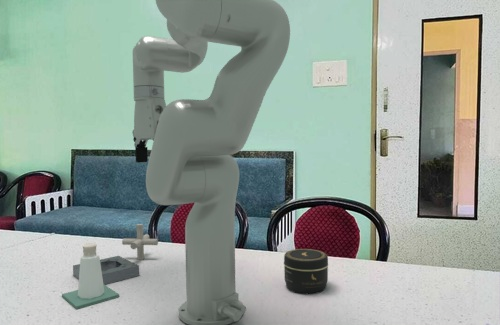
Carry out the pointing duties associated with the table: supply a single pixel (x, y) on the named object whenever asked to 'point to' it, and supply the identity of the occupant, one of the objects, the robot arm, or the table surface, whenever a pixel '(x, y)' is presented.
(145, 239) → the pipe connector
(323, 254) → the jar
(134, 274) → the frame
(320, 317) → the table surface
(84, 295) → the pepper shaker
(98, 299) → the mat
